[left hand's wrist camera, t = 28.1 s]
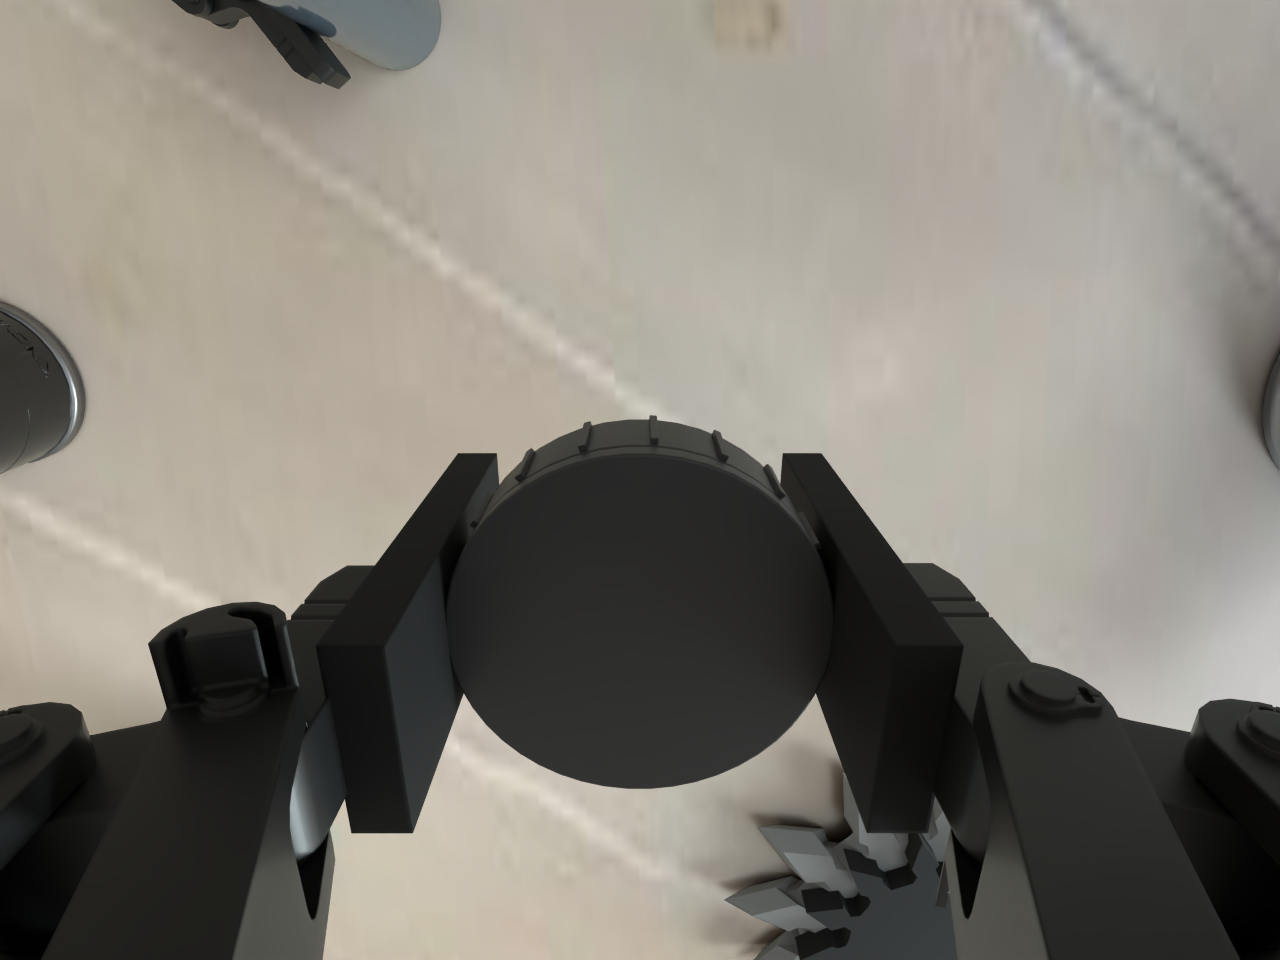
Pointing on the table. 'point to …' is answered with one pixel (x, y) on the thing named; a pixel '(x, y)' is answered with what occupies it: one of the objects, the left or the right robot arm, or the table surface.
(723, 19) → the table surface
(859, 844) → the decorative piece
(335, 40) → the grey cylindrical flask
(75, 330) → the table surface
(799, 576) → the lid
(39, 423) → the right robot arm
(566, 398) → the table surface
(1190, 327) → the table surface
